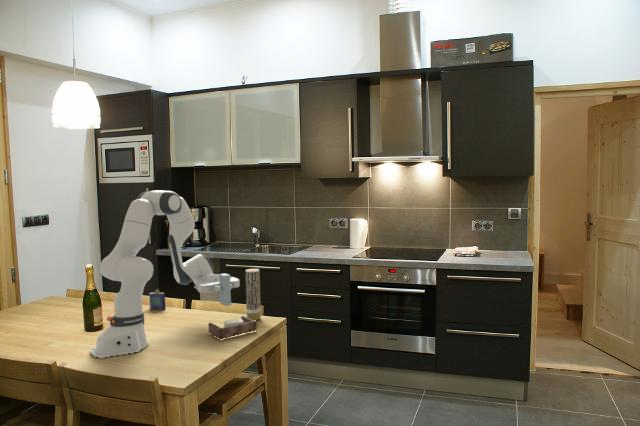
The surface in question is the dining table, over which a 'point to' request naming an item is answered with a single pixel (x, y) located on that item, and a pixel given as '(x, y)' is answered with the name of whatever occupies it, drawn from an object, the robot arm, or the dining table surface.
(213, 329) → the brown basket
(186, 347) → the dining table surface
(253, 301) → the brown patterned cylinder
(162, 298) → the flask
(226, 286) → the blue-grey block
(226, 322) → the offcut upper
